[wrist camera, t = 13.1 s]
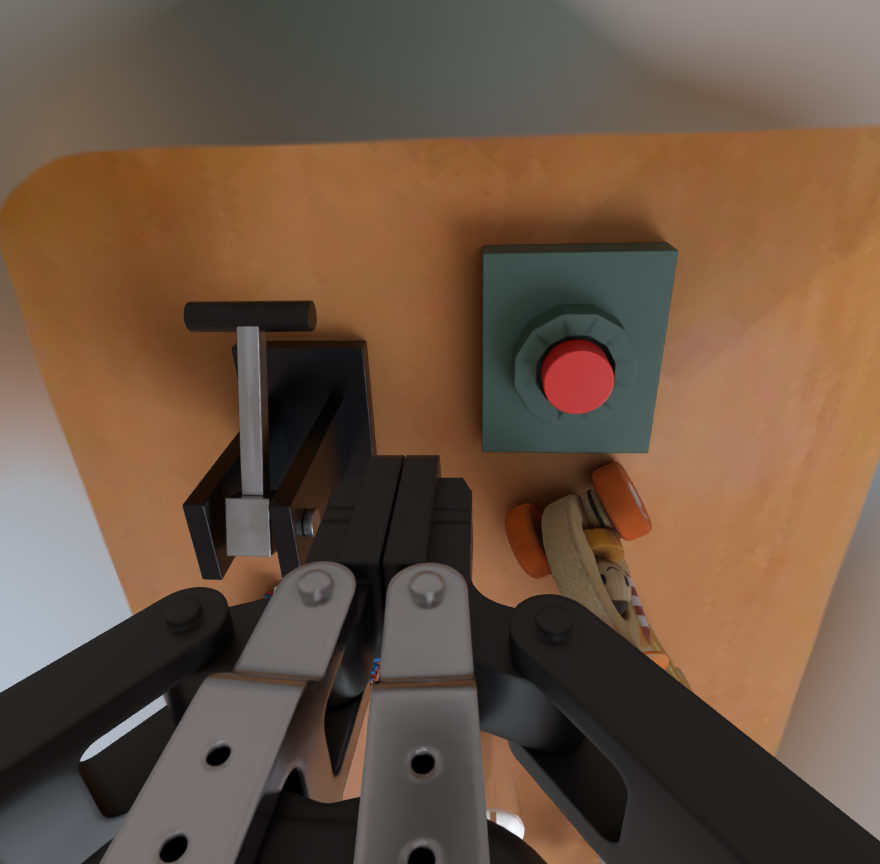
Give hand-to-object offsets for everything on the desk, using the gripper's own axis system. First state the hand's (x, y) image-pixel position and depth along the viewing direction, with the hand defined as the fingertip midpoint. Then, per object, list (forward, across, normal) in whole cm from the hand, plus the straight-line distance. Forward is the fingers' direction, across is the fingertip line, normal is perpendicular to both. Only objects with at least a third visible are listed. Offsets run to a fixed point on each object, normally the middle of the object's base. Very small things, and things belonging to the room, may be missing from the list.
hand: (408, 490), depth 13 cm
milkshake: (+23, -2, +41) cm, 47 cm away
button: (+20, -7, +6) cm, 22 cm away
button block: (+23, -7, +6) cm, 25 cm away
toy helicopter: (+23, -10, +22) cm, 34 cm away
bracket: (+23, +10, +10) cm, 27 cm away
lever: (+15, +9, +7) cm, 19 cm away
